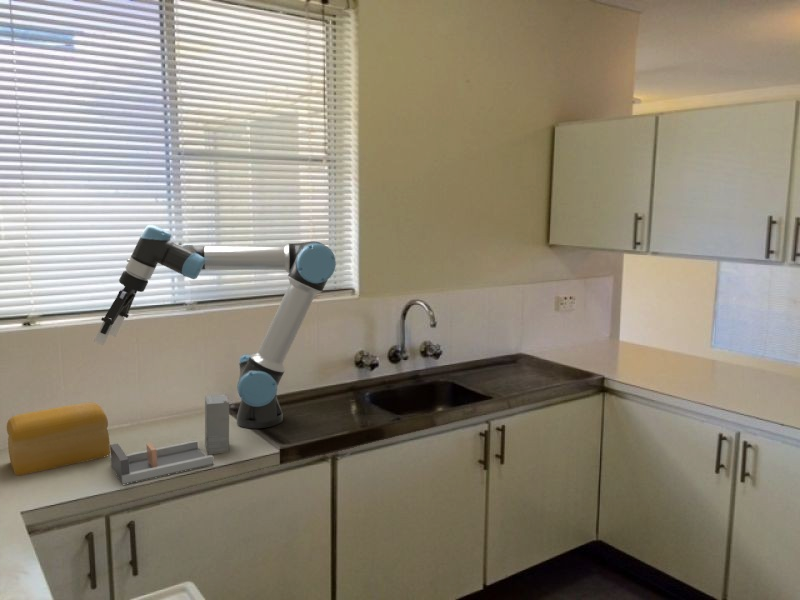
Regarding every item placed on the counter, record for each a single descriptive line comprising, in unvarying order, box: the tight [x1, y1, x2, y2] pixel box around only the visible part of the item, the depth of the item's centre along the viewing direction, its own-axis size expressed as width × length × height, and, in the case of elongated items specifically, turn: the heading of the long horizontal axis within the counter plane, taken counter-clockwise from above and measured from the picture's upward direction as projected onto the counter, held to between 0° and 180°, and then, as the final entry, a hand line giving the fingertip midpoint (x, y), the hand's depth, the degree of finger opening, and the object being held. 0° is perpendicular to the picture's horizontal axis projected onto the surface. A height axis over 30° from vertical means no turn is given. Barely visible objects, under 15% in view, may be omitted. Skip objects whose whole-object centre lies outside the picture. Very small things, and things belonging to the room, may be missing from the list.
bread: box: [6, 402, 111, 476], centre depth 192 cm, size 24×13×15 cm, turn 126°
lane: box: [110, 439, 215, 485], centre depth 187 cm, size 24×16×6 cm, turn 124°
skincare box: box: [204, 393, 230, 456], centre depth 198 cm, size 8×7×16 cm
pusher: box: [146, 442, 157, 467], centre depth 185 cm, size 1×6×5 cm, turn 33°
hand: (104, 338), depth 198 cm, fingers open, 13 cm apart
